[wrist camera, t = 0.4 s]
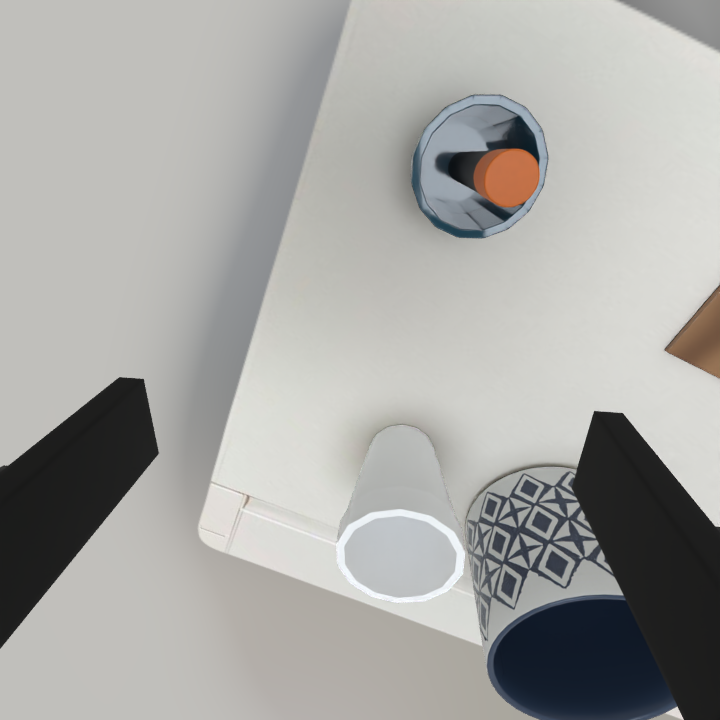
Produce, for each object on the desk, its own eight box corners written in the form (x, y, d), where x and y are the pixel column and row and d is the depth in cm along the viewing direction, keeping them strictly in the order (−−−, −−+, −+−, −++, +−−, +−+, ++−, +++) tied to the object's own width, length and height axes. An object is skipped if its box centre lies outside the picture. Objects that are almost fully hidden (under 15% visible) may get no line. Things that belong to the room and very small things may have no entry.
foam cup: (420, 501, 47) (424, 618, 35) (340, 466, 46) (317, 574, 34) (467, 434, 43) (490, 541, 31) (380, 395, 42) (370, 489, 30)
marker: (448, 150, 32) (487, 147, 17) (478, 151, 32) (545, 148, 17) (446, 182, 33) (480, 207, 18) (474, 182, 33) (535, 208, 17)
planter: (522, 598, 51) (561, 749, 38) (433, 514, 47) (443, 651, 34) (654, 535, 46) (753, 686, 33) (566, 434, 42) (638, 560, 29)
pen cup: (414, 109, 32) (416, 94, 24) (520, 110, 31) (559, 95, 23) (407, 217, 35) (408, 236, 27) (504, 219, 34) (534, 240, 26)
